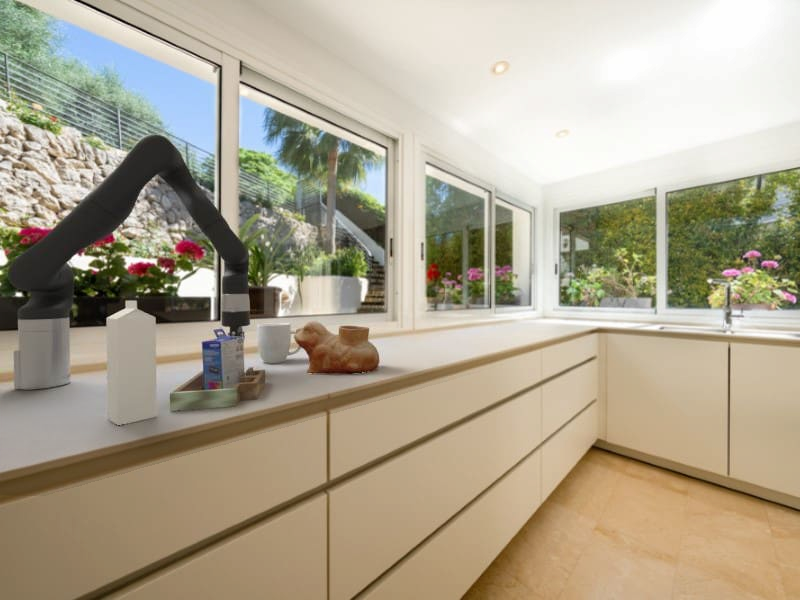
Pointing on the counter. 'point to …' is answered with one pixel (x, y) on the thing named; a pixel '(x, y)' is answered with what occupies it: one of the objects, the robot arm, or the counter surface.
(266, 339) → the mug
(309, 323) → the ceramic vessel
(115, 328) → the milk
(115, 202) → the robot arm
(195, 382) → the wooden compartment tray
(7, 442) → the counter surface
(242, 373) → the ink cartridge box
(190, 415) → the counter surface
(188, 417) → the counter surface
